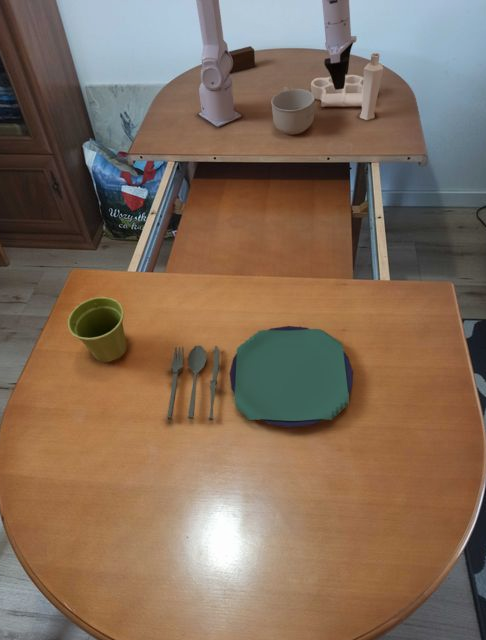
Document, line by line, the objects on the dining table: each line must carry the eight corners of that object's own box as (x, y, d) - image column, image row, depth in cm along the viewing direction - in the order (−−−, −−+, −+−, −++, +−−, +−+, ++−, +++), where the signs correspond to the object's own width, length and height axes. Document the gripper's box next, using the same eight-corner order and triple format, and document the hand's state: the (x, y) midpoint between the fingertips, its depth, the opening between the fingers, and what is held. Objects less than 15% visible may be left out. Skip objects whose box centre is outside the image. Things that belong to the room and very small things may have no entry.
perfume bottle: (355, 113, 132) (363, 52, 120) (372, 111, 132) (380, 49, 120) (360, 121, 129) (368, 60, 117) (377, 119, 129) (386, 57, 117)
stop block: (255, 66, 154) (254, 49, 150) (225, 74, 153) (223, 57, 149) (251, 63, 156) (250, 45, 152) (221, 70, 154) (220, 53, 150)
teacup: (315, 138, 126) (316, 106, 120) (272, 141, 127) (271, 110, 121) (310, 111, 135) (312, 80, 128) (270, 114, 135) (270, 83, 129)
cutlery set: (358, 433, 75) (360, 425, 73) (163, 433, 77) (160, 426, 76) (345, 331, 87) (347, 323, 85) (177, 334, 90) (175, 326, 88)
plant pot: (73, 363, 87) (56, 332, 81) (100, 324, 93) (85, 291, 86) (120, 376, 85) (106, 344, 78) (144, 335, 90) (133, 302, 83)
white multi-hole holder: (309, 110, 135) (311, 85, 144) (377, 109, 132) (375, 84, 141) (309, 97, 132) (312, 73, 141) (379, 97, 129) (377, 71, 138)
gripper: (351, 28, 106) (355, 93, 116) (358, 3, 114) (361, 65, 124) (318, 34, 108) (324, 97, 118) (327, 9, 117) (332, 69, 127)
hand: (341, 81), depth 121 cm, fingers open, 7 cm apart
